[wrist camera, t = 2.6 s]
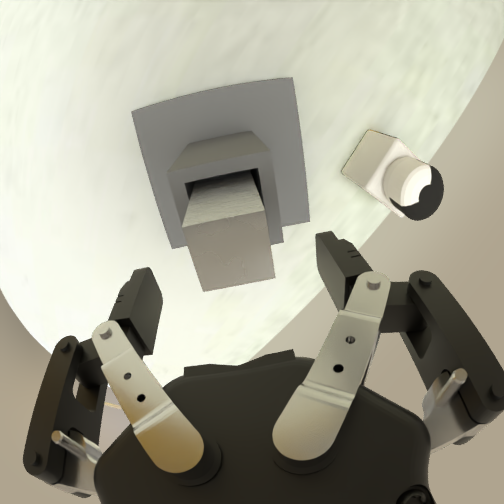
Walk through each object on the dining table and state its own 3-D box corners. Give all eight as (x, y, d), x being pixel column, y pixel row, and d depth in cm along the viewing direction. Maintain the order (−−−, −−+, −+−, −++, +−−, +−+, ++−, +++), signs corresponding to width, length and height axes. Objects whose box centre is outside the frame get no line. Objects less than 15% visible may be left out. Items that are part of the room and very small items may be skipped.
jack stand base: (135, 111, 27) (75, 123, 14) (289, 78, 27) (339, 65, 14) (173, 243, 36) (153, 320, 24) (306, 216, 36) (349, 283, 24)
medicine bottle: (402, 158, 33) (459, 187, 22) (376, 198, 36) (425, 239, 25) (367, 128, 30) (426, 147, 20) (339, 172, 33) (387, 207, 23)
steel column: (203, 153, 29) (180, 226, 13) (240, 145, 29) (265, 209, 13) (211, 187, 31) (202, 292, 15) (247, 180, 31) (276, 278, 15)
